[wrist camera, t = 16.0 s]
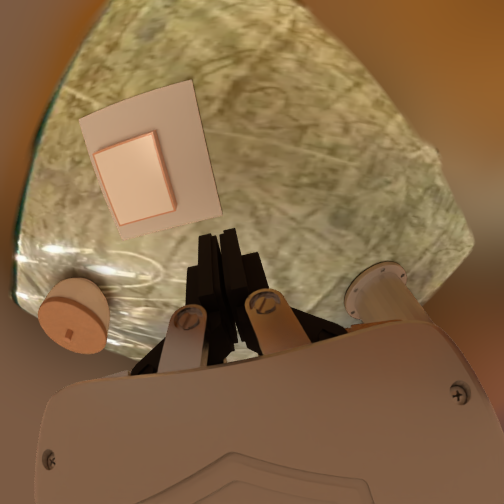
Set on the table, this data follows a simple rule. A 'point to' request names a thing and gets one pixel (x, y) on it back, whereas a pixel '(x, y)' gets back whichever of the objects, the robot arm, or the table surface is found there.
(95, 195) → the table surface
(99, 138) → the mat
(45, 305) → the lidded jar
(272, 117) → the table surface
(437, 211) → the table surface
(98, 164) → the block
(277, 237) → the table surface
